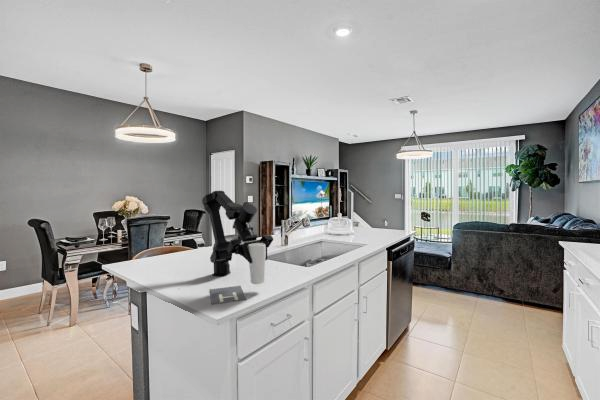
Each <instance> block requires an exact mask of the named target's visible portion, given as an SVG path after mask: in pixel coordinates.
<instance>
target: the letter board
mask: <svg viewBox="0 0 600 400" xmlns="http://www.w3.org/2000/svg"><path fill="white" fill-rule="evenodd" d="M209 292H210V299H211V300H210V301H211V305H219V304H225V303H226V304H227V303H233V302H238V301H246V300H247V297H246V295H245V293H244V290H243V288H242V286H241V285H235V286H233V285H232V286H225V287H219V288H218V287H217V288H210V289H209Z"/></svg>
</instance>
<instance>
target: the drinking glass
mask: <svg viewBox="0 0 600 400" xmlns="http://www.w3.org/2000/svg"><path fill="white" fill-rule="evenodd" d="M248 250H249V253H250V256H251V259H252V263H251V264H250V263H249V262H248V265H249V274H250V275H249V276H250V283H251V284H253V285H262V284H264V283H265V279H266V278H265V276H266V275H265V274H266V273H265V272H266V261H267V260H266V246H265V244H264V243H252V244H249V245H248Z"/></svg>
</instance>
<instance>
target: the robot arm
mask: <svg viewBox="0 0 600 400" xmlns="http://www.w3.org/2000/svg"><path fill="white" fill-rule="evenodd" d="M201 201H202V205H203V207H204V210H205V211H206V212H207V213H208V214H209V219H210V225H211V228H212V235H213V239H214V245H213V246H212V253H211V254H210V258H209V259H210V262H211V263H212V264H213V273H212V274H211V275H212V276H217V277H224V276H226V275H229V274H230V273H232V272H231V269H230V267H231V265H230V262H229V261H232V259H233V254H235V255H240V256H242V257H243V258H244V260H246V261H247V262H248V264H249V263H250V264H251V263H252V259H251V256H250V253H249V250H248V245H249V244H252V243H264V244H265V246H266V260H265V261H267V260H268V248H269V247H270V246H271V244H272V243H273V241H274V237H273V236H272V234H266V235H262V236H261V238H260V239H257V238H258V235H257V234H255V233H254V227H253V226H251V225H250V223H251V222H252V221H253V219H254V217H255V215H256V214H257V212H258V209H257V207H256V206H255V205H254V204H252V203H250V202H249V201H244V202H243V204H240V203H236V202H234V201H233V200H232V199H231V198H230V197H229V196H228V195H227V194H226V192H225V191H223V190H214V191H212V192H210V193H208V194H205V195H204V197H202V200H201ZM221 207H222V208H223V210H224V211H225V216H226V217H227V218H228V220H230V221H233V220H234V221H233V224H232V229H235V230H236V232H237V234H238V236H237V239H236V238H235V239H231V240H230V241H229V240H227V239H226V236H225V232H224V227H223V223H222V219H221V218H222V217H221V215H220V214H221V213H220V210H221Z"/></svg>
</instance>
